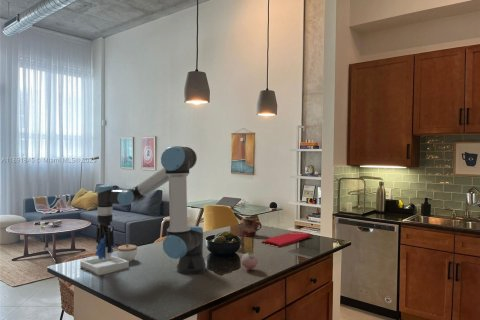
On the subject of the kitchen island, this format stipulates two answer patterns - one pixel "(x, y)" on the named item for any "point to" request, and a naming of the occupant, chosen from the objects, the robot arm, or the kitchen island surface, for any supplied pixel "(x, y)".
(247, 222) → the decorative planter
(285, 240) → the dish drying mat
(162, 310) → the kitchen island surface
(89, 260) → the tray
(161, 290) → the kitchen island surface
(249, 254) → the decorative fruit
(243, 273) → the kitchen island surface
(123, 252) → the lidded jar
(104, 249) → the grapes
